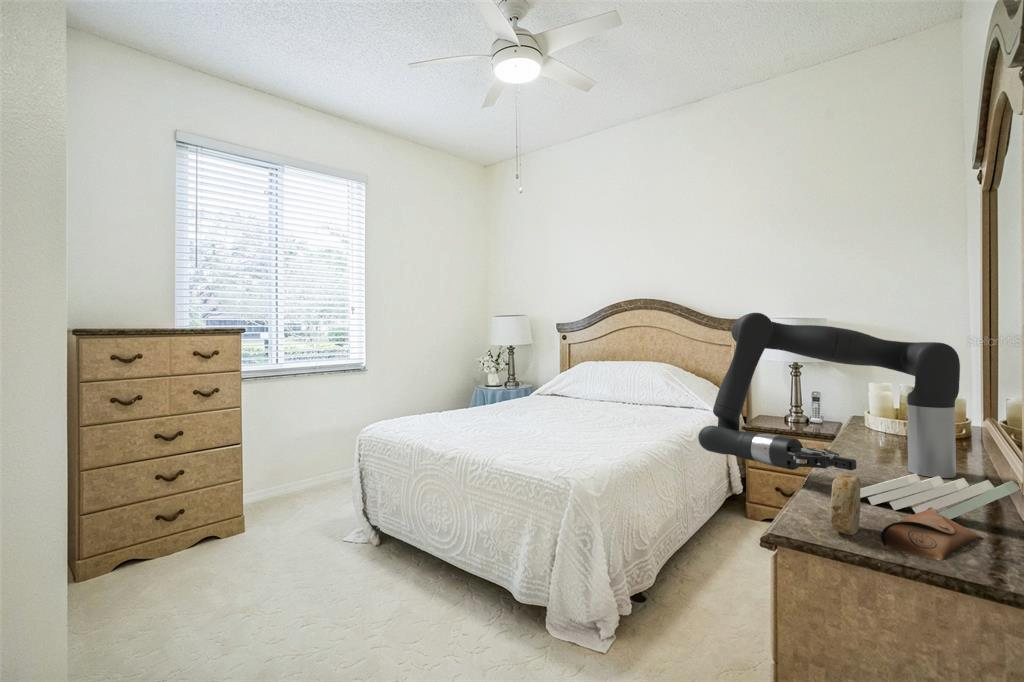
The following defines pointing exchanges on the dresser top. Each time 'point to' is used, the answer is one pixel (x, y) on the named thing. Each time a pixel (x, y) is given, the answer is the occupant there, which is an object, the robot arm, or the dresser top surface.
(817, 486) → the dresser top surface
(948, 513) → the domino
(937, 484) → the domino
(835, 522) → the stone disc
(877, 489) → the domino
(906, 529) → the sunglasses case
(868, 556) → the dresser top surface
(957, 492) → the domino
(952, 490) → the domino
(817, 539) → the dresser top surface
